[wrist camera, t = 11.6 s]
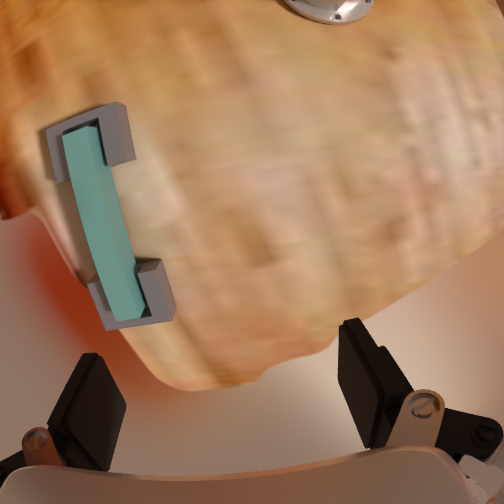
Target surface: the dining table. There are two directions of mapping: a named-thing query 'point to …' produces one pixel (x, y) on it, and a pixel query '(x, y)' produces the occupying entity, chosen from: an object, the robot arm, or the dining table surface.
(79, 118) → the end caps
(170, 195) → the dining table surface
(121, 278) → the slat
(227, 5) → the dining table surface
